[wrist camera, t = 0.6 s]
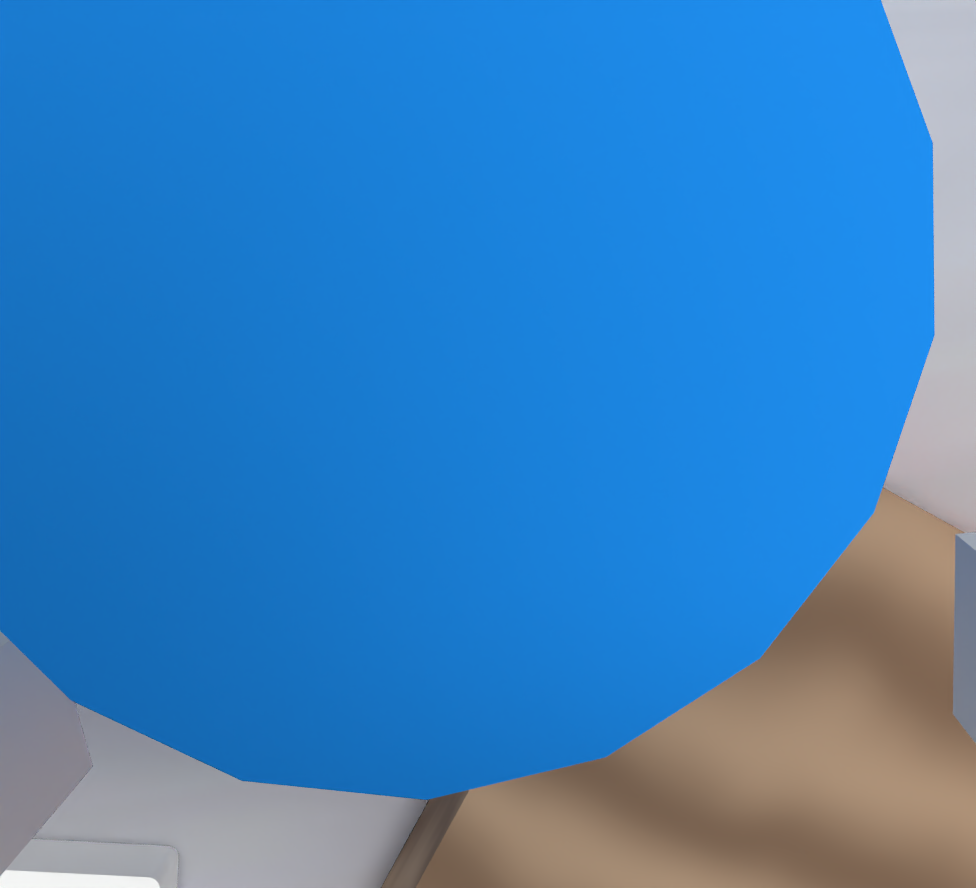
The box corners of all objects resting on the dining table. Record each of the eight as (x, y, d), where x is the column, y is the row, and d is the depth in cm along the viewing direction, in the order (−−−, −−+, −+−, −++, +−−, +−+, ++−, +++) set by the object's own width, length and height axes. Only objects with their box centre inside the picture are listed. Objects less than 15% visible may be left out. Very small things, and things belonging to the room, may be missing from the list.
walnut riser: (658, 383, 33) (693, 383, 28) (1163, 660, 35) (1281, 707, 30) (371, 904, 34) (357, 993, 29) (873, 1150, 36) (940, 1273, 31)
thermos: (598, 232, 33) (1049, -240, 8) (562, 505, 33) (869, 866, 9) (317, 194, 32) (-156, -439, 7) (286, 472, 33) (-238, 752, 8)
